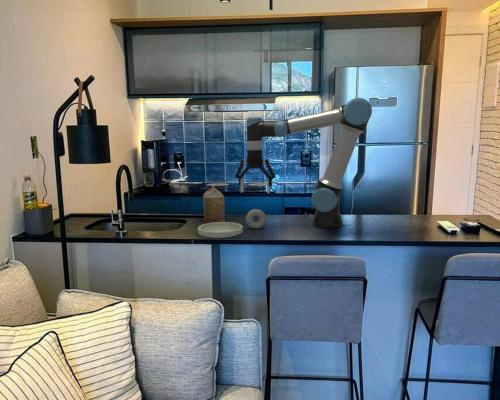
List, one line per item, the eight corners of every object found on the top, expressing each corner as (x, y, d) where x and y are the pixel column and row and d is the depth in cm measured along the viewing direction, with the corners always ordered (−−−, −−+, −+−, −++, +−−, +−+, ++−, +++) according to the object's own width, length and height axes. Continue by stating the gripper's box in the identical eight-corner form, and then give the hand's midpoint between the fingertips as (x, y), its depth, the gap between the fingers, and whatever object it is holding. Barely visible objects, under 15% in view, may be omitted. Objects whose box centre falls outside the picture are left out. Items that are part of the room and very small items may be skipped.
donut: (265, 227, 216) (265, 208, 214) (266, 229, 212) (265, 209, 211) (246, 227, 216) (245, 208, 214) (246, 229, 212) (245, 209, 211)
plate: (248, 227, 215) (247, 223, 215) (234, 239, 195) (234, 233, 194) (208, 225, 221) (208, 221, 221) (191, 236, 201) (190, 231, 201)
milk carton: (224, 222, 228) (223, 187, 225) (205, 223, 226) (203, 188, 223) (223, 218, 238) (222, 184, 235) (204, 219, 237) (202, 185, 233)
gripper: (281, 148, 207) (281, 191, 211) (233, 148, 214) (234, 190, 218) (277, 149, 200) (278, 194, 204) (228, 149, 207) (229, 192, 211)
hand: (255, 192), depth 211 cm, fingers open, 13 cm apart
